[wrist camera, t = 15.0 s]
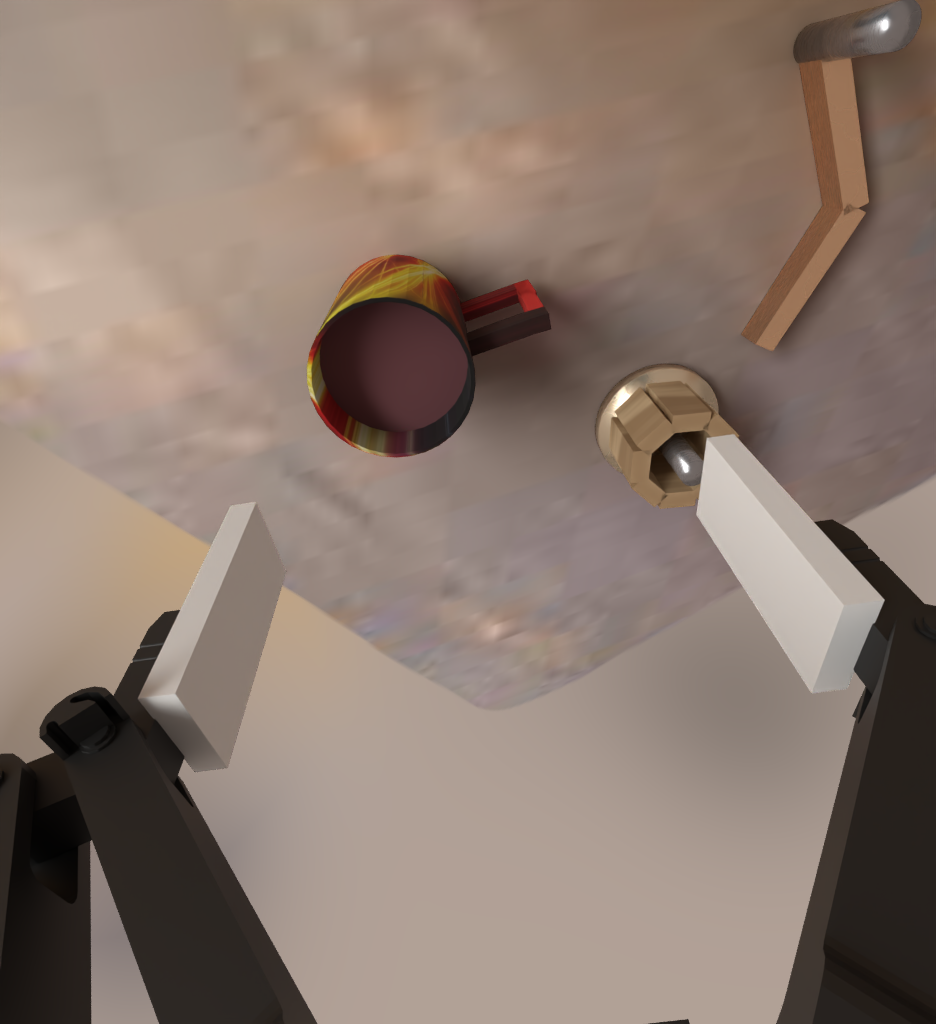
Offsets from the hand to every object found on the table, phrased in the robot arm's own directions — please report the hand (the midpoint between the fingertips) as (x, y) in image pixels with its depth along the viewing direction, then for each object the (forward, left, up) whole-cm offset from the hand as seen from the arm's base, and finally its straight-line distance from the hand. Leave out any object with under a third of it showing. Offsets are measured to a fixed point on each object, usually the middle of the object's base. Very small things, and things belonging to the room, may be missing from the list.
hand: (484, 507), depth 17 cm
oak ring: (+13, +16, -28) cm, 35 cm away
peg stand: (+13, +16, -30) cm, 36 cm away
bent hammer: (-3, +25, -30) cm, 39 cm away
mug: (+1, -2, -30) cm, 30 cm away
